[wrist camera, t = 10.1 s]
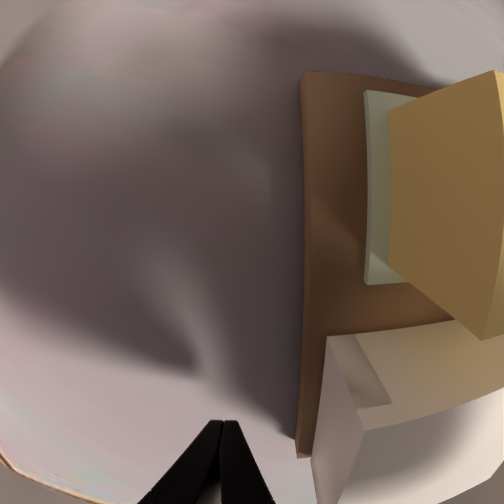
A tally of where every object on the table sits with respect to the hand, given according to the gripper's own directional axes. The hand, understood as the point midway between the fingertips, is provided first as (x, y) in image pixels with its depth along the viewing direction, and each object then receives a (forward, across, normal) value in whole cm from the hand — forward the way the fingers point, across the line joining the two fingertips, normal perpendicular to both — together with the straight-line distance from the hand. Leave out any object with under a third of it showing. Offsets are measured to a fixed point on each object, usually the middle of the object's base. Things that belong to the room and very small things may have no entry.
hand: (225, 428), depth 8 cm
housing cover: (+1, -7, 0) cm, 7 cm away
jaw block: (+1, -6, -7) cm, 9 cm away
